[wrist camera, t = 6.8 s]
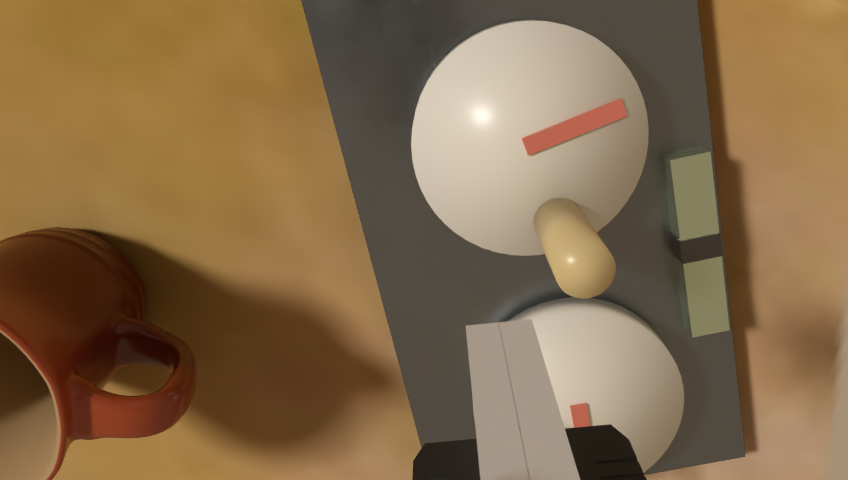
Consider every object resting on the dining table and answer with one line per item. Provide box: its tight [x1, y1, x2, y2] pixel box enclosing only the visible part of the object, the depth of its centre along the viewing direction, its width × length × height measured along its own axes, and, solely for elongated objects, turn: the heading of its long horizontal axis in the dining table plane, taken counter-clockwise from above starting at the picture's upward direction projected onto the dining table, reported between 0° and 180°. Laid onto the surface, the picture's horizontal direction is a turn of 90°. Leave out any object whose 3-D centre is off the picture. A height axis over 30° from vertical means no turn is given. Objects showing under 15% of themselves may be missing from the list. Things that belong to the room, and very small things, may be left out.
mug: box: [0, 227, 197, 480], centre depth 29 cm, size 12×9×10 cm
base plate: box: [301, 0, 745, 475], centre depth 30 cm, size 35×15×2 cm, turn 13°
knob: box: [472, 297, 684, 473], centre depth 30 cm, size 9×9×7 cm
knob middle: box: [411, 20, 649, 299], centre depth 26 cm, size 9×9×7 cm
